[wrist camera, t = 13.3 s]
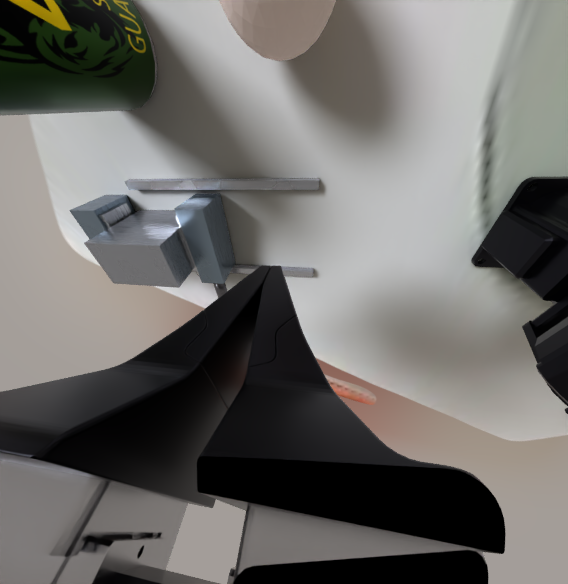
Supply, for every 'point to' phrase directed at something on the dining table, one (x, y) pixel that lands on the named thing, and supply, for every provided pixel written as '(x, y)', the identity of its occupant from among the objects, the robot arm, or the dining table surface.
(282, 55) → the egg
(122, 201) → the vise bed
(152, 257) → the steel block
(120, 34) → the green soda can
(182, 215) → the block
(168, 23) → the dining table surface
